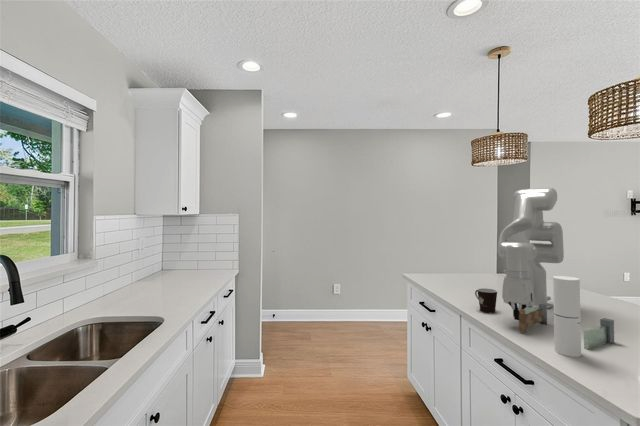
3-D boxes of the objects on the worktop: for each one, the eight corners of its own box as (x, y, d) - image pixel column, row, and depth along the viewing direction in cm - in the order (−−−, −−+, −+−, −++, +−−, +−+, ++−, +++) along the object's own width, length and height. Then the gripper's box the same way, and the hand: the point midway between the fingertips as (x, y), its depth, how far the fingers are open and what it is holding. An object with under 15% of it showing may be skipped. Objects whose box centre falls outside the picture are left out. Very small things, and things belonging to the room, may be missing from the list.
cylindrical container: (549, 348, 112) (547, 276, 112) (568, 347, 113) (566, 275, 113) (566, 357, 105) (565, 280, 105) (587, 356, 106) (585, 279, 106)
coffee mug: (500, 314, 151) (499, 292, 151) (480, 313, 152) (480, 292, 152) (492, 307, 162) (491, 287, 162) (473, 306, 164) (473, 286, 164)
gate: (538, 322, 137) (537, 301, 137) (543, 323, 135) (543, 302, 135) (518, 331, 127) (518, 309, 127) (524, 332, 125) (523, 310, 125)
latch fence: (604, 339, 119) (604, 318, 119) (614, 342, 116) (613, 320, 116) (581, 347, 112) (581, 324, 112) (591, 350, 110) (590, 326, 110)
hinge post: (522, 316, 146) (522, 299, 146) (548, 324, 136) (548, 305, 136) (518, 317, 145) (518, 299, 145) (544, 325, 135) (544, 305, 135)
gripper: (494, 273, 136) (494, 316, 136) (533, 278, 124) (534, 326, 124) (502, 271, 141) (503, 313, 140) (541, 276, 128) (542, 322, 128)
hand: (518, 319), depth 132 cm, fingers closed
